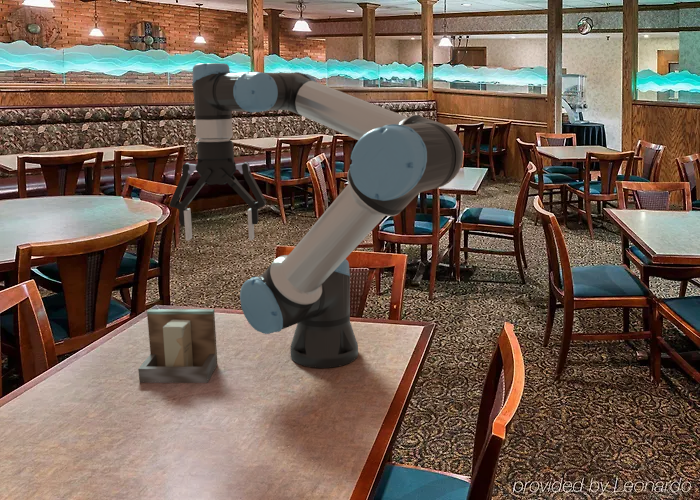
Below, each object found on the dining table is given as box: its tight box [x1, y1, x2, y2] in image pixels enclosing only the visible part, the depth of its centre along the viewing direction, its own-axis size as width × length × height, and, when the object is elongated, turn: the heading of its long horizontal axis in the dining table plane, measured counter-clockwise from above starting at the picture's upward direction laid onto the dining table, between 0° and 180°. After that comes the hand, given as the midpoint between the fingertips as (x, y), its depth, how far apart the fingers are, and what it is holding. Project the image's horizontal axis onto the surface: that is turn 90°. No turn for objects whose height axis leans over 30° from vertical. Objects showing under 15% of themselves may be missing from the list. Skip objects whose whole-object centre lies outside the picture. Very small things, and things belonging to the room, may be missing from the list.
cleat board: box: [137, 308, 218, 384], centre depth 142 cm, size 14×10×13 cm
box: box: [163, 320, 193, 367], centre depth 143 cm, size 5×4×11 cm
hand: (220, 239), depth 147 cm, fingers open, 13 cm apart
